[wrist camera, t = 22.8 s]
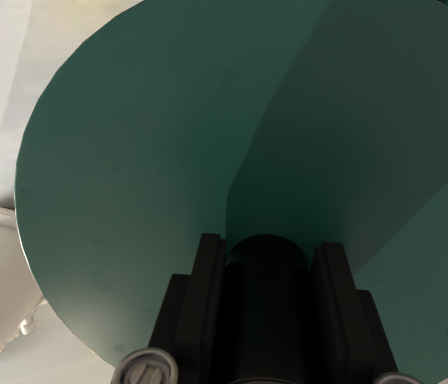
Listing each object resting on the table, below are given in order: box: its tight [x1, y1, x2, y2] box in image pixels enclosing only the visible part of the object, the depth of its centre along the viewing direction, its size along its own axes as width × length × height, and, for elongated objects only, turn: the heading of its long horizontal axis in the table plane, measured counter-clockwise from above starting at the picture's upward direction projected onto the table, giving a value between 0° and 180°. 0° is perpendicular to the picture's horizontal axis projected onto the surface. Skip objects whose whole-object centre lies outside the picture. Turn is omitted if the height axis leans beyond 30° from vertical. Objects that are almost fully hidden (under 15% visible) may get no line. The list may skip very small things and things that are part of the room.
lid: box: [14, 0, 448, 384], centre depth 10 cm, size 16×16×6 cm
